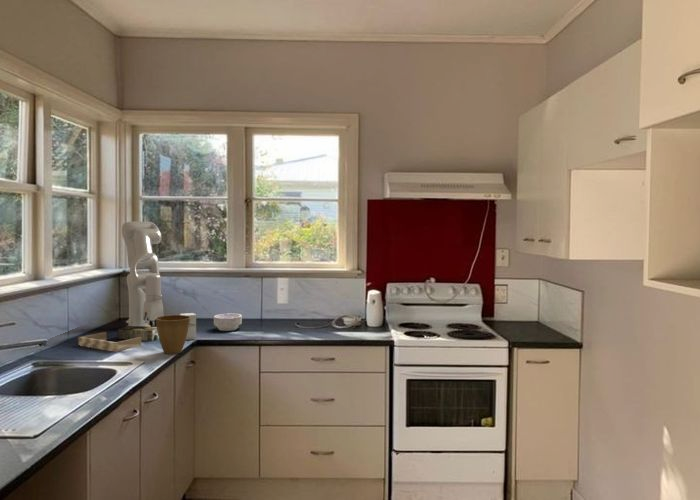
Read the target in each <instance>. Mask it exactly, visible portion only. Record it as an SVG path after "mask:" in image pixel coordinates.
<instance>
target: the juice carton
mask: <svg viewBox="0 0 700 500" xmlns="http://www.w3.org/2000/svg"><path fill="white" fill-rule="evenodd" d="M116 331H117V332H116V333H117V341H118V340H121V339H123V341H124V340H129V339H133V338H138V337H141V341H146V342H147V341H148V342H149V341H151V342H154V341H155V340H158V339H159V336H158V332H157V327H151V326H150V327H147V326H128V325H126V326H125V325H124V326H122V327H120V328H117V330H116Z"/></svg>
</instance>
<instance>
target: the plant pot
mask: <svg viewBox="0 0 700 500" xmlns="http://www.w3.org/2000/svg"><path fill="white" fill-rule="evenodd" d="M155 319H156V326H157V332H158V336H159V338H158V339H159V343H160V346H161V348H162V351H163V353H164V354H166V355H176V354H181V353H182V352H183V349H184V347H185V343H186V341H187V340H186V337H187V333H188V329H189V323H190V316H185V315H179V314H171V315H163V316H160V317H156V318H155Z"/></svg>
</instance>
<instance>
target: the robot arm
mask: <svg viewBox="0 0 700 500" xmlns="http://www.w3.org/2000/svg"><path fill="white" fill-rule="evenodd" d="M121 236H122V238H123V242H124V243H125V246H126V256H127V264H128V268H129V273H128V274H127V276H126V283H127V289H128V317H129V318H128V319H127V320H126V321H125V323H126V324H128V325H127V326H147V327H157V326H156V319H155V318H156V317H160V316H164V315H165V313H164V305H163V299H162V297H163V295H162V277H161V275H160V267H159V258H158V256H157V255H156V253H154V252H153V247H152V245H159V244H160V243H161V242H162V233H161V231H160V229H159V227H158V226H157V225H156V224H155V223H154V222H152V221H126V222H124V223H123V224H122V226H121ZM137 270H139V271H137ZM140 270H141V271H140ZM142 270H143V271H142ZM145 270H146V271H145ZM147 270H148V271H147ZM143 289H145V291H144V290H143Z"/></svg>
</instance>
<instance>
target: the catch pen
mask: <svg viewBox="0 0 700 500" xmlns="http://www.w3.org/2000/svg"><path fill="white" fill-rule="evenodd" d="M107 335H108V334H107V331H104V332H99V333H94V334H87V335H82V336H78V337H77V338H78V339H77V340H78V346H79V345H80V347H84V346H85V347H84V348H90V347H91V348H92V349H97V350H102V351H108V352H115V353H116V352H121V351H125V350H129V349H133V348H137V347H141V346H142V340H141V337H138V338H133V339H129V340H124V339H123V340H120V341H117V342H116V341H110V340H109V341H108V340H107Z"/></svg>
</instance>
